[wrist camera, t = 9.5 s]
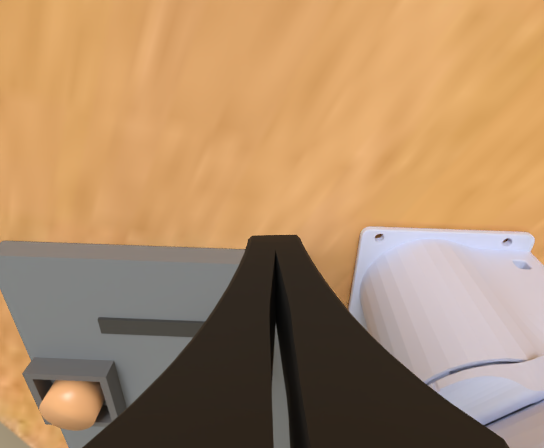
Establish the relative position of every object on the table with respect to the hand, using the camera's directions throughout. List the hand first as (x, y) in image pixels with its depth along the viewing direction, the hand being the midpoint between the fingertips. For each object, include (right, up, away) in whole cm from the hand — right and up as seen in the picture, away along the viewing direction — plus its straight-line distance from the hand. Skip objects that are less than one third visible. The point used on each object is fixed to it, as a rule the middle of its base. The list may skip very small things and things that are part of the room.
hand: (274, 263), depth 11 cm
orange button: (-13, -10, +16) cm, 23 cm away
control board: (-7, -10, +17) cm, 21 cm away
